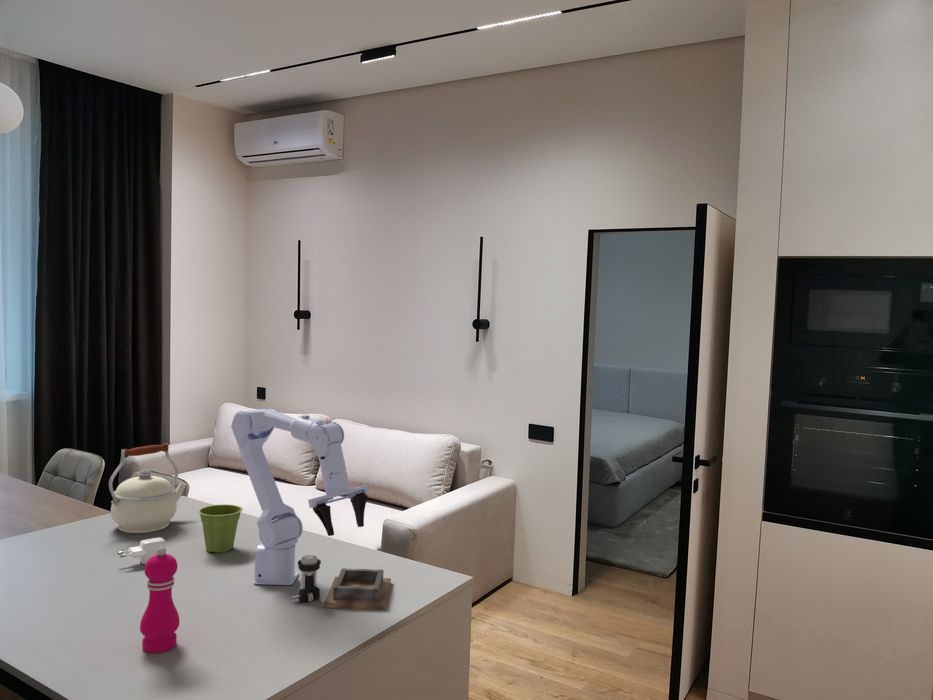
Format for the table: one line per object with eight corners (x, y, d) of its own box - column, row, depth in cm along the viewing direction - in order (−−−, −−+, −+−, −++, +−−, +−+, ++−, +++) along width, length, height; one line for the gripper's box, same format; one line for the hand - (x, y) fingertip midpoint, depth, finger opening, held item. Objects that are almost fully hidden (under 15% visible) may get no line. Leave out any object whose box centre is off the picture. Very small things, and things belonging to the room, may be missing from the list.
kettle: (126, 541, 197) (128, 455, 196) (92, 528, 207) (93, 446, 206) (202, 522, 218) (204, 444, 217) (167, 511, 228) (169, 436, 227)
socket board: (323, 607, 158) (324, 590, 158) (335, 581, 174) (335, 565, 174) (384, 609, 158) (385, 592, 158) (390, 582, 174) (391, 567, 174)
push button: (296, 607, 158) (298, 564, 157) (287, 599, 162) (288, 557, 161) (323, 600, 162) (324, 559, 161) (313, 593, 166) (314, 552, 166)
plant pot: (250, 547, 196) (251, 508, 195) (215, 559, 186) (216, 518, 185) (223, 539, 202) (224, 501, 202) (188, 549, 192) (188, 510, 192)
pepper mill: (147, 637, 141) (149, 540, 140) (184, 637, 141) (186, 541, 140) (133, 654, 133) (135, 553, 132) (172, 654, 134) (174, 553, 133)
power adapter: (120, 570, 175) (121, 548, 175) (116, 565, 179) (116, 542, 179) (166, 562, 182) (167, 540, 182) (161, 556, 186) (161, 535, 186)
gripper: (311, 479, 156) (323, 539, 154) (368, 465, 164) (380, 522, 162) (301, 481, 162) (312, 539, 160) (356, 468, 170) (368, 523, 168)
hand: (346, 531), depth 162 cm, fingers open, 7 cm apart
